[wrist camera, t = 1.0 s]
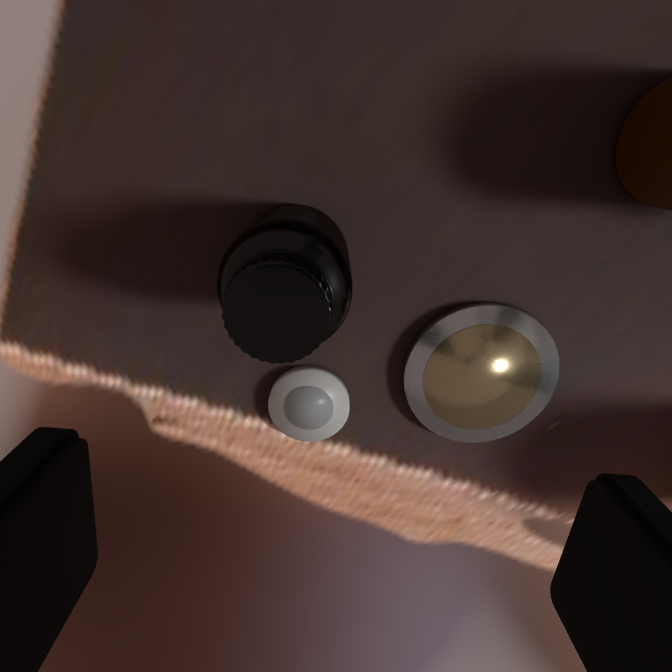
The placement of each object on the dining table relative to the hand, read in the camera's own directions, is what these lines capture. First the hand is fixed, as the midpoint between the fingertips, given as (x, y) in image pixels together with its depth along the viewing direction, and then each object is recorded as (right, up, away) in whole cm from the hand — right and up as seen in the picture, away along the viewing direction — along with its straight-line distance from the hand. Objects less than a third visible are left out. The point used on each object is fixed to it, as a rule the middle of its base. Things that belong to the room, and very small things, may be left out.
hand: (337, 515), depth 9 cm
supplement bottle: (-3, +9, +22) cm, 24 cm away
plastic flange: (-2, -2, +26) cm, 27 cm away
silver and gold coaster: (+10, +1, +25) cm, 27 cm away
